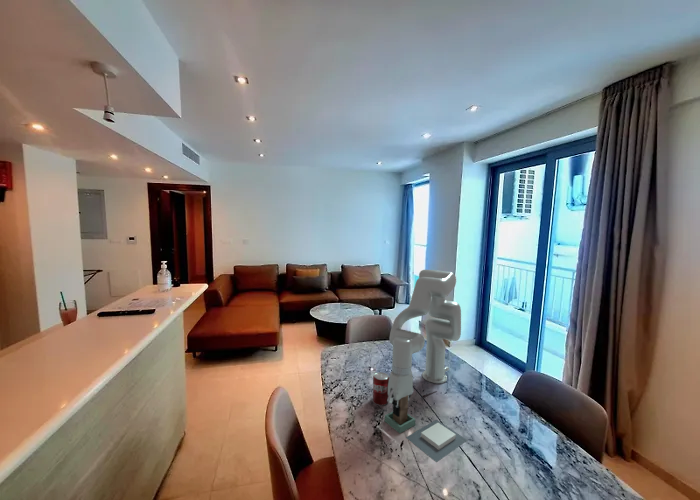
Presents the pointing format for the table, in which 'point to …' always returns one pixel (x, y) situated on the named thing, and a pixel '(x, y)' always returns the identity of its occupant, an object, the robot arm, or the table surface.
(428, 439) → the tile
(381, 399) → the soda can
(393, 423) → the holder
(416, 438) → the mat
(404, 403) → the brown wooden block
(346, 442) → the table surface
